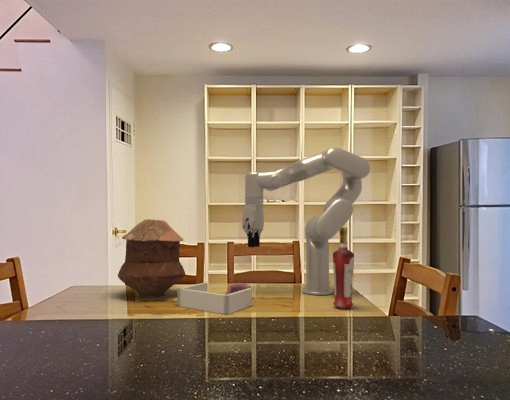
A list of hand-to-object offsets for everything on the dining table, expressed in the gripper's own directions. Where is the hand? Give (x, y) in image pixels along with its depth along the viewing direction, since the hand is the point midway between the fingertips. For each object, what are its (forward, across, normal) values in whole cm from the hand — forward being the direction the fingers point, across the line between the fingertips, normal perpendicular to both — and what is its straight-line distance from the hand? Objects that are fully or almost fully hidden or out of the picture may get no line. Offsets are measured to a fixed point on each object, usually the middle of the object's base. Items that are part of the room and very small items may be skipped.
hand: (253, 246), depth 160 cm
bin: (+19, +25, 0) cm, 32 cm away
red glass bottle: (+19, +3, +39) cm, 44 cm away
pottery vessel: (+19, +25, -32) cm, 45 cm away
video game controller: (+19, +11, 0) cm, 22 cm away
